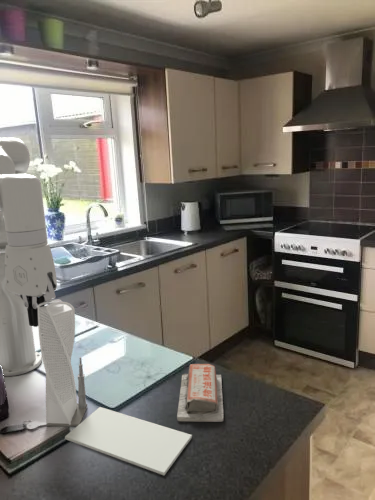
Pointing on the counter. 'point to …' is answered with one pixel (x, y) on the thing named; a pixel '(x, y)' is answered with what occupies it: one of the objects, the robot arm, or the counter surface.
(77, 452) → the counter surface
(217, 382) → the packaged product
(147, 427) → the mat
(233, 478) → the counter surface
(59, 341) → the twisted tower model
